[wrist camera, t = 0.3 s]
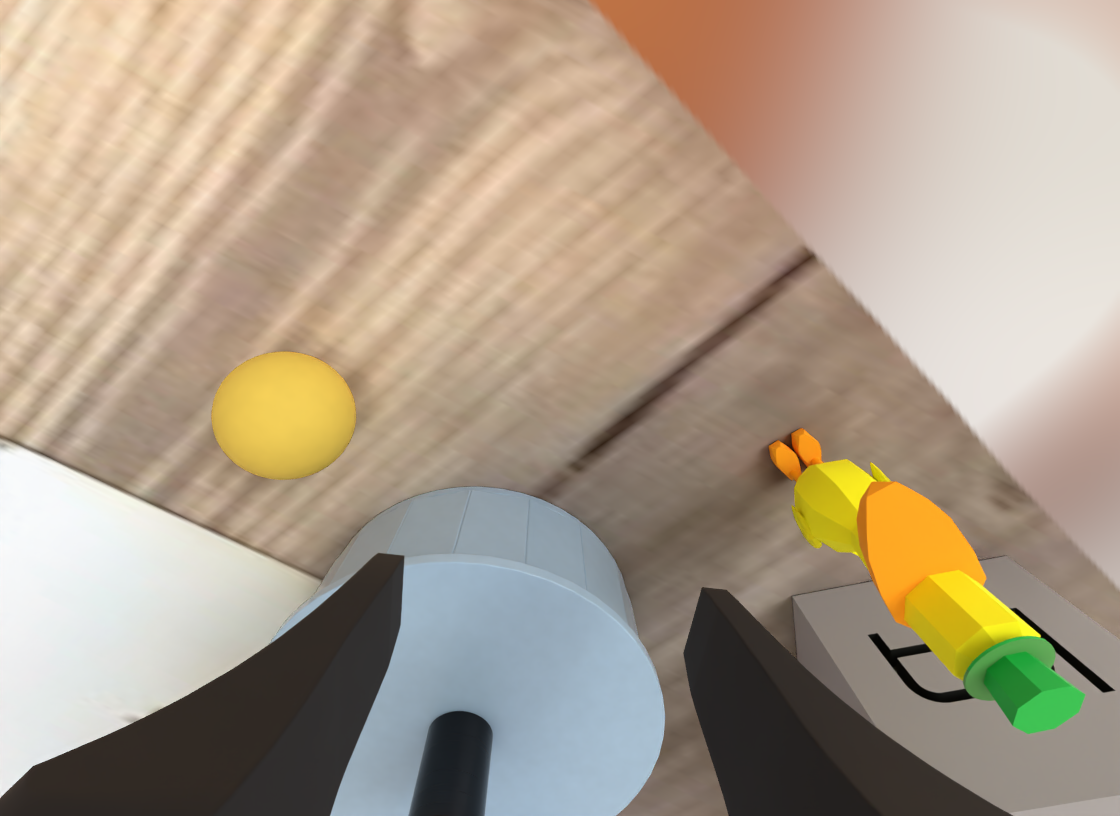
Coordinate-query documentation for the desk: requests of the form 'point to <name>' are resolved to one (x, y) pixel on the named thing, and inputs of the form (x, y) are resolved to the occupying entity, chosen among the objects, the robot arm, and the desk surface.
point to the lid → (502, 699)
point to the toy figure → (929, 582)
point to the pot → (491, 538)
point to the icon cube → (966, 722)
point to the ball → (283, 415)
